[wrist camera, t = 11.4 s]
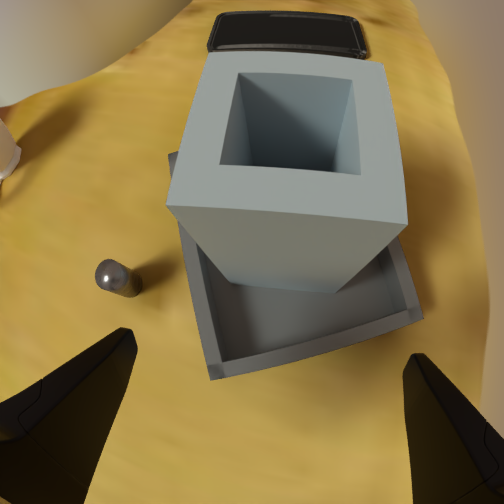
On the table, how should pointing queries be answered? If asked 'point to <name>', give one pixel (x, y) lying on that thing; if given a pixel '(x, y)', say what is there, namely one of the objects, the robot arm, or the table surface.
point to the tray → (293, 311)
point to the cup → (7, 152)
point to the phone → (287, 33)
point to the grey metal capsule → (118, 278)
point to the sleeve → (290, 168)
